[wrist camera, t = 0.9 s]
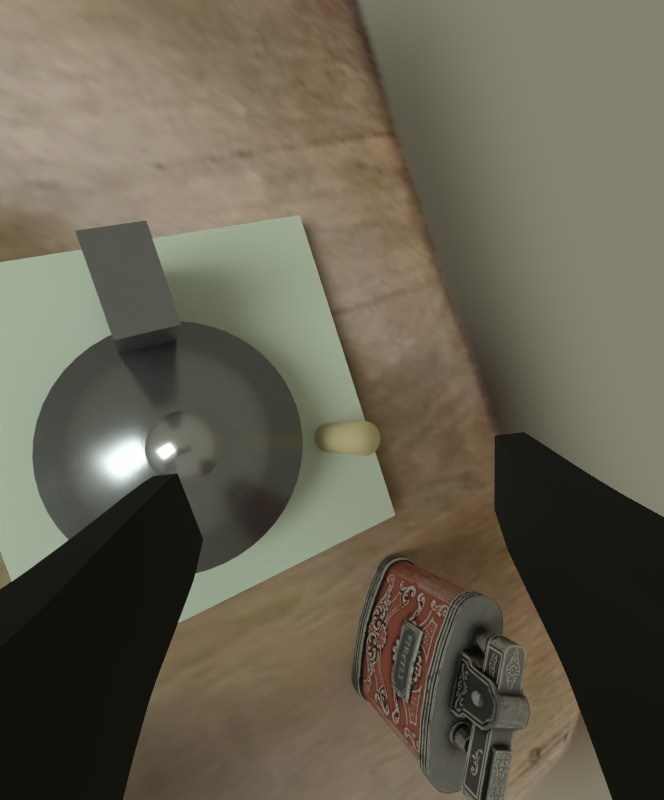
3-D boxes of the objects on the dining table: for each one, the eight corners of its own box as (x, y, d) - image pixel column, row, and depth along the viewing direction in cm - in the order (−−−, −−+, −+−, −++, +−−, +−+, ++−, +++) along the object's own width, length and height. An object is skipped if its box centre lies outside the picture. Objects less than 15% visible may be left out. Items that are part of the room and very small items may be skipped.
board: (55, 674, 20) (24, 758, 15) (-90, 286, 19) (-178, 231, 14) (386, 512, 27) (442, 530, 22) (294, 222, 26) (330, 171, 21)
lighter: (375, 549, 26) (498, 611, 17) (421, 559, 27) (560, 623, 18) (341, 694, 25) (455, 848, 16) (391, 698, 26) (525, 843, 17)
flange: (320, 508, 23) (358, 525, 19) (92, 612, 19) (76, 663, 15) (234, 247, 22) (255, 205, 18) (-25, 293, 18) (-77, 252, 14)
